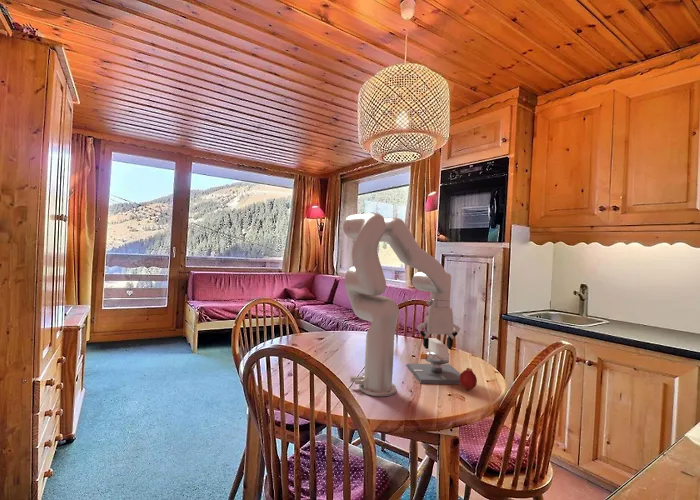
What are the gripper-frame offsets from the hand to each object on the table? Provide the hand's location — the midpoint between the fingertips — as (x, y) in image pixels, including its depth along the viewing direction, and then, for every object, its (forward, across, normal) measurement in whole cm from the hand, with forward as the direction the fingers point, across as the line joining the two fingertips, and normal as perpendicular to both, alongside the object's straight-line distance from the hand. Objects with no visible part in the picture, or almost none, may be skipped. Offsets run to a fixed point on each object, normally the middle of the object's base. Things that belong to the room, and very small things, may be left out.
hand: (437, 348), depth 139 cm
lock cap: (+5, -1, 0) cm, 5 cm away
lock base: (+10, 0, 0) cm, 10 cm away
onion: (+11, +6, -15) cm, 19 cm away
